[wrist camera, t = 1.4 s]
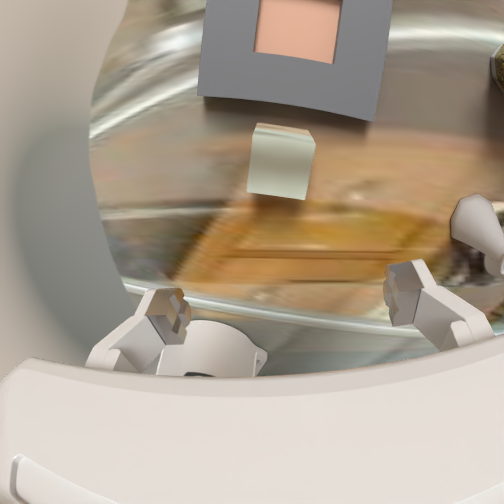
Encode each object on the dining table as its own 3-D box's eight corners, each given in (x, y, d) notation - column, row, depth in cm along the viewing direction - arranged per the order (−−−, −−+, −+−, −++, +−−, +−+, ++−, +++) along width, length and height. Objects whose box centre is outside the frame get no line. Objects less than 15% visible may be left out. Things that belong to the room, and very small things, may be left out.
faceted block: (299, 175, 30) (304, 200, 25) (251, 169, 30) (246, 191, 25) (308, 129, 27) (315, 144, 22) (257, 122, 27) (252, 135, 22)
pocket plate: (365, 117, 25) (373, 122, 23) (203, 93, 25) (197, 96, 23) (386, -20, 16) (394, -26, 14) (220, -47, 16) (215, -55, 14)
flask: (494, 193, 28) (539, 235, 19) (482, 240, 32) (517, 286, 23) (455, 191, 28) (500, 236, 20) (443, 241, 32) (478, 293, 24)
